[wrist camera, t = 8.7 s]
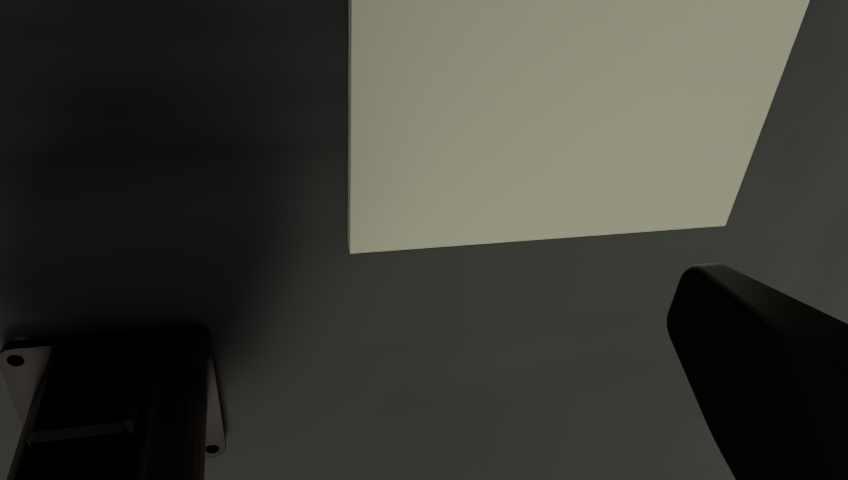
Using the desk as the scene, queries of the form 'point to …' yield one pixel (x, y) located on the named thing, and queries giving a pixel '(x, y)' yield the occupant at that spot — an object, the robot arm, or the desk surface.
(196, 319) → the desk surface
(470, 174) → the mat
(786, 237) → the desk surface
